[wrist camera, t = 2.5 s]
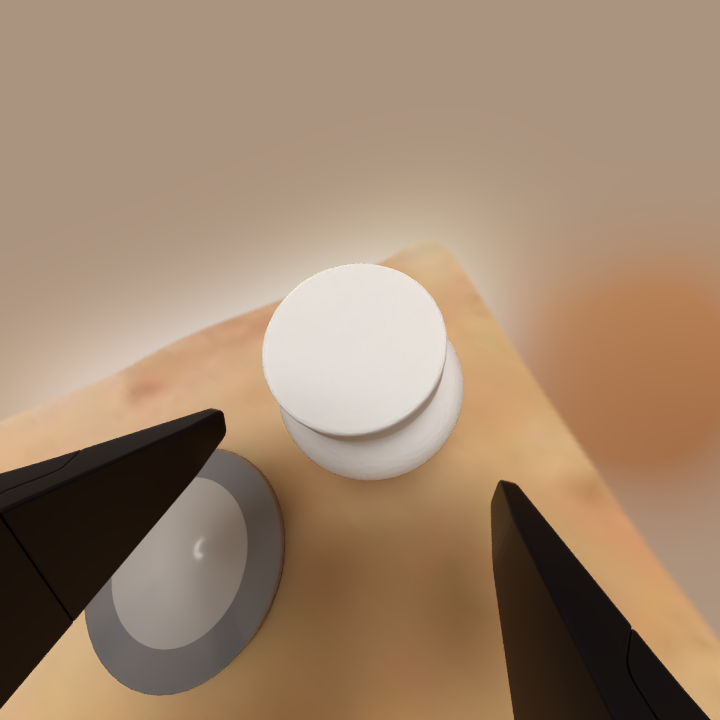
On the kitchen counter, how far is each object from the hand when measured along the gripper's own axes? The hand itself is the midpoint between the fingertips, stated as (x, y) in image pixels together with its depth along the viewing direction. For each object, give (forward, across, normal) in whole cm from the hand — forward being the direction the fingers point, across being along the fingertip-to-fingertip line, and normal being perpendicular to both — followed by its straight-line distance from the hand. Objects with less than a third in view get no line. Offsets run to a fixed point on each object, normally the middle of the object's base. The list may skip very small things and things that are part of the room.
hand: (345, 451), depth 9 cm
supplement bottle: (+9, 0, +5) cm, 10 cm away
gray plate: (+1, +10, +12) cm, 16 cm away
